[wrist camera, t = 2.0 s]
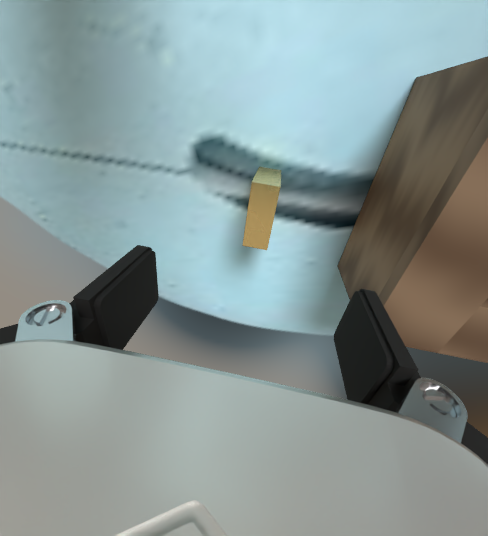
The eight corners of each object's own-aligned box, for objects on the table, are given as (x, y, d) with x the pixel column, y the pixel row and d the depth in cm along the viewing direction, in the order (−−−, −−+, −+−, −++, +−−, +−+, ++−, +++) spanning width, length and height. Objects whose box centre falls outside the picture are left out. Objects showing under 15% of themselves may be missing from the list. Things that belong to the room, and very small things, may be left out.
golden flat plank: (259, 166, 21) (251, 181, 16) (281, 170, 21) (280, 187, 16) (251, 218, 24) (242, 245, 19) (270, 222, 24) (267, 250, 19)
